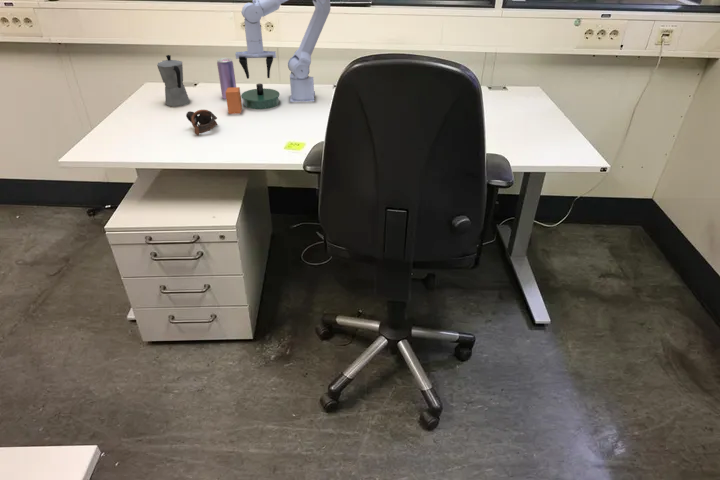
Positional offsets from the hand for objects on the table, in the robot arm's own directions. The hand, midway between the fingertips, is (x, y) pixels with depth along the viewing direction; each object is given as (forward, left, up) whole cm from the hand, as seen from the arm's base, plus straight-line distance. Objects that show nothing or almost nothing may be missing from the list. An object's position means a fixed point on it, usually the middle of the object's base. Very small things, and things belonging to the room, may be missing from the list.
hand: (258, 77), depth 188 cm
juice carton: (+9, +9, -10) cm, 16 cm away
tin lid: (0, +1, -7) cm, 7 cm away
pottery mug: (+18, +26, -10) cm, 33 cm away
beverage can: (+13, -7, -10) cm, 18 cm away
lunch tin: (0, +1, -10) cm, 10 cm away
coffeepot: (+32, -2, -10) cm, 34 cm away
